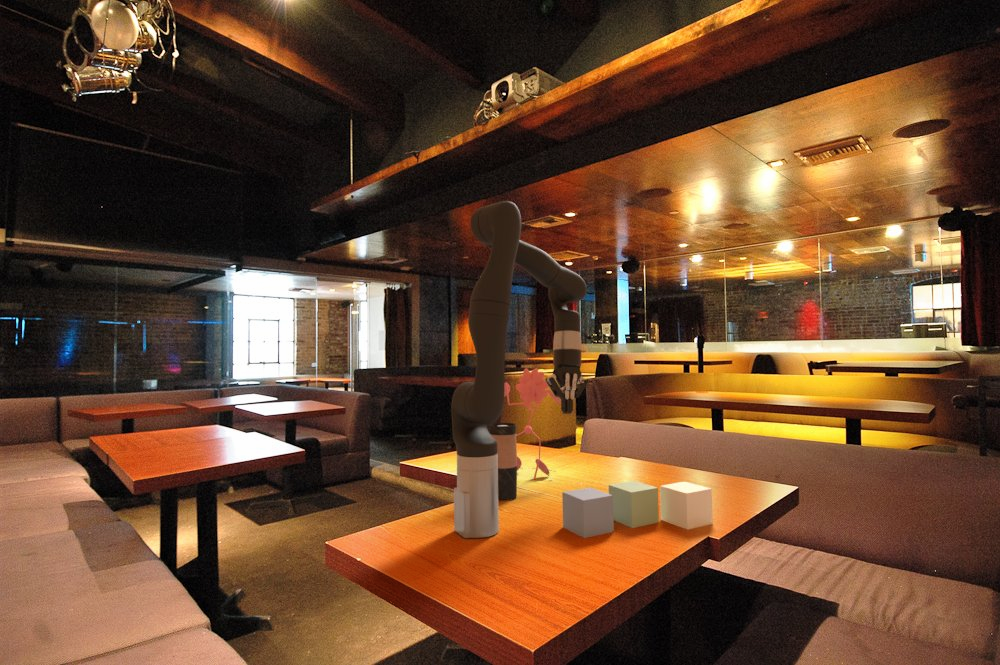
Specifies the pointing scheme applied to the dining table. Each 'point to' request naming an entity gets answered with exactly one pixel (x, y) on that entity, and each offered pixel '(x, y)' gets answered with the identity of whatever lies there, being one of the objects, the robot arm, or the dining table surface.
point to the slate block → (588, 512)
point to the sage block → (634, 503)
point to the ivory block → (686, 505)
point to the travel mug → (506, 459)
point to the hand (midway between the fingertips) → (567, 413)
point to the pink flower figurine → (531, 391)
